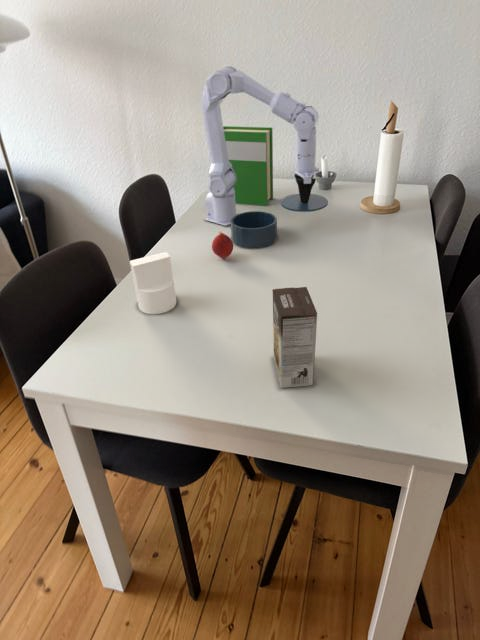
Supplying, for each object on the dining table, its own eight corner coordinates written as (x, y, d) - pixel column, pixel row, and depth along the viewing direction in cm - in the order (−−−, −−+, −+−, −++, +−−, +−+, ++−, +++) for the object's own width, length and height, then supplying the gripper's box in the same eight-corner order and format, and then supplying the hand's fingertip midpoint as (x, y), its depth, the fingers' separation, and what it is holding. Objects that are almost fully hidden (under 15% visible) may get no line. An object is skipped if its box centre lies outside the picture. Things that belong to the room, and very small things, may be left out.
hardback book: (273, 198, 169) (272, 127, 156) (267, 205, 163) (265, 132, 150) (227, 194, 174) (222, 126, 161) (219, 201, 169) (214, 131, 155)
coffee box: (272, 358, 94) (271, 288, 85) (304, 355, 94) (307, 285, 85) (279, 389, 87) (279, 315, 78) (314, 385, 87) (318, 312, 78)
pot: (222, 241, 141) (221, 222, 138) (251, 226, 149) (250, 208, 146) (258, 252, 133) (257, 232, 130) (285, 236, 142) (286, 217, 138)
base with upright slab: (145, 318, 108) (136, 272, 102) (133, 300, 115) (124, 256, 108) (182, 307, 112) (175, 261, 105) (168, 290, 118) (162, 246, 112)
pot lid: (271, 207, 143) (270, 191, 140) (298, 193, 152) (298, 178, 149) (310, 217, 135) (311, 200, 132) (336, 202, 144) (337, 185, 141)
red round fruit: (235, 253, 134) (233, 227, 129) (232, 263, 129) (230, 236, 124) (214, 253, 134) (212, 227, 130) (211, 263, 130) (209, 236, 125)
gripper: (323, 160, 129) (320, 208, 136) (316, 146, 141) (314, 191, 148) (297, 161, 129) (296, 209, 136) (292, 147, 141) (291, 192, 148)
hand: (304, 199), depth 142 cm, fingers closed on pot lid, 2 cm apart
